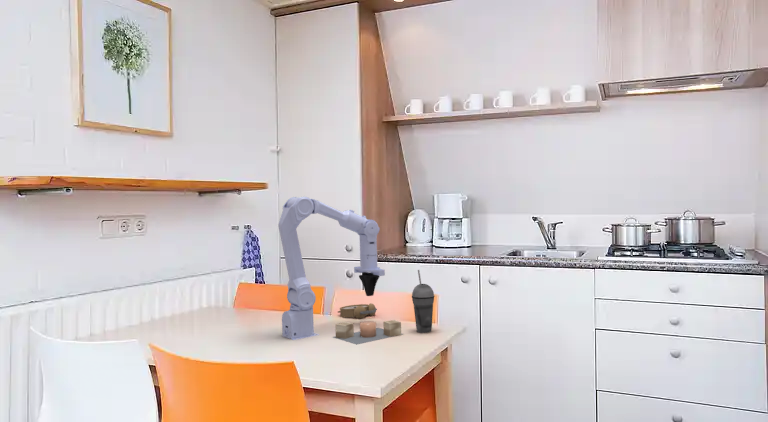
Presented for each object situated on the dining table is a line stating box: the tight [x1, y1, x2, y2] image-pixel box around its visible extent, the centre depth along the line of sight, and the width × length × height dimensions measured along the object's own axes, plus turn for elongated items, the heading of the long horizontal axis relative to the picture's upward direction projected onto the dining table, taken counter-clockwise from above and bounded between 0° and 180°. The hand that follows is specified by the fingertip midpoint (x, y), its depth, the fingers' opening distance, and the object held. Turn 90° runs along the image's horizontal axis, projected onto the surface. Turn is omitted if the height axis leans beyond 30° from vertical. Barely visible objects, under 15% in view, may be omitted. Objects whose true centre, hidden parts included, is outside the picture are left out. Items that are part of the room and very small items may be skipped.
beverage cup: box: [411, 269, 435, 334], centre depth 186 cm, size 7×7×20 cm
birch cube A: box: [334, 321, 355, 339], centre depth 182 cm, size 4×4×4 cm
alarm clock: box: [337, 303, 378, 320], centre depth 218 cm, size 11×5×15 cm
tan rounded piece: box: [359, 320, 377, 338], centre depth 183 cm, size 5×5×4 cm
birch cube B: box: [383, 319, 402, 338], centre depth 183 cm, size 4×4×4 cm
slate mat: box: [332, 327, 404, 345], centre depth 183 cm, size 18×13×1 cm
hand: (369, 295), depth 198 cm, fingers closed
